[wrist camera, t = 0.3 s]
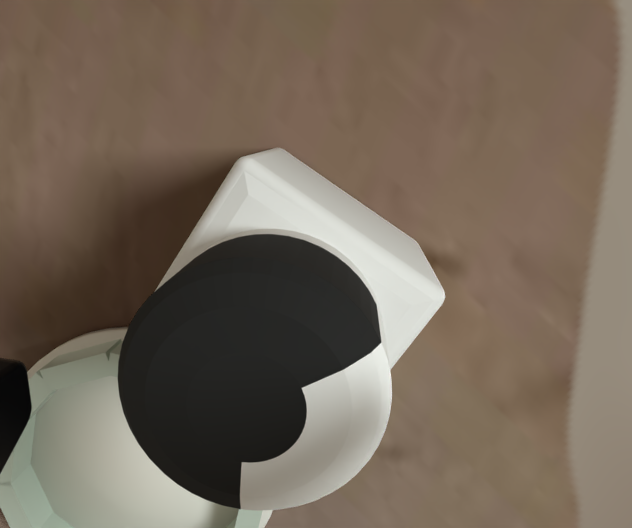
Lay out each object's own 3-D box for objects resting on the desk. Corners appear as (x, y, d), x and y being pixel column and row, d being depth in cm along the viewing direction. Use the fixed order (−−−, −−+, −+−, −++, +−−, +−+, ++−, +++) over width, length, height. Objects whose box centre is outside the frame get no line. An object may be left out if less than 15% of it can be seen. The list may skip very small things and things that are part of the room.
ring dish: (163, 616, 28) (148, 654, 26) (-43, 455, 26) (-76, 482, 24) (339, 459, 25) (338, 489, 23) (120, 267, 23) (97, 280, 21)
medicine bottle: (186, 284, 23) (19, 440, 12) (276, 143, 22) (186, 162, 10) (323, 374, 24) (295, 608, 12) (421, 243, 22) (497, 373, 11)
